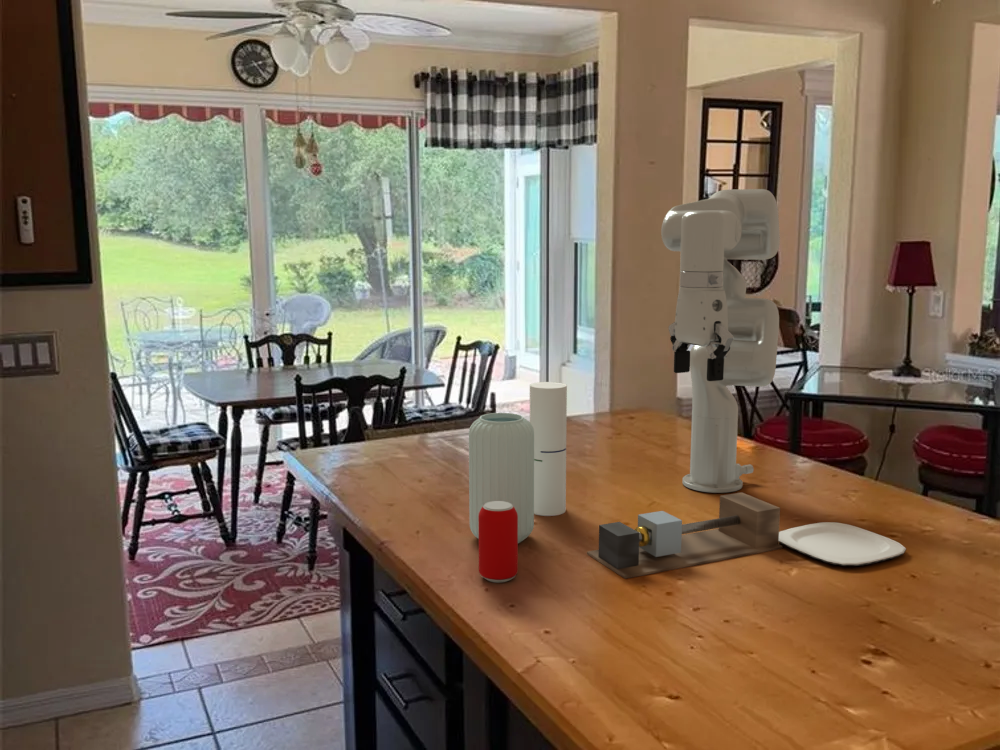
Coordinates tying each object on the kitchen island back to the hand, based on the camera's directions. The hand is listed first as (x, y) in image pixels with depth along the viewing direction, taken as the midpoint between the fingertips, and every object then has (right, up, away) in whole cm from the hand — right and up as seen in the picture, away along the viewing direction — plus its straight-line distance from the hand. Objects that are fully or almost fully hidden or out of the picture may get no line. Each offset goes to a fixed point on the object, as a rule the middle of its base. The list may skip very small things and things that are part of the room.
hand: (697, 376), depth 162 cm
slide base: (-4, -30, -8) cm, 31 cm away
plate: (+23, -30, -7) cm, 39 cm away
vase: (-36, -29, -2) cm, 46 cm away
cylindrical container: (-26, -27, +14) cm, 40 cm away
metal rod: (-5, -28, -9) cm, 30 cm away
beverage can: (-36, -32, -19) cm, 52 cm away
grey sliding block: (-9, -29, -10) cm, 32 cm away
